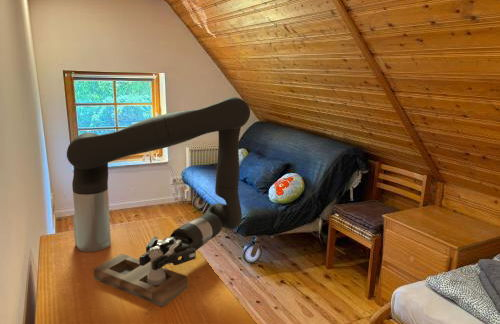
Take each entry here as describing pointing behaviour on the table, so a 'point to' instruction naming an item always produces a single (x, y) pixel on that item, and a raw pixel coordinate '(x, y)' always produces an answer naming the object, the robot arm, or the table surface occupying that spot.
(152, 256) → the rook chess piece
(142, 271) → the slot rail
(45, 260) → the table surface
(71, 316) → the table surface
